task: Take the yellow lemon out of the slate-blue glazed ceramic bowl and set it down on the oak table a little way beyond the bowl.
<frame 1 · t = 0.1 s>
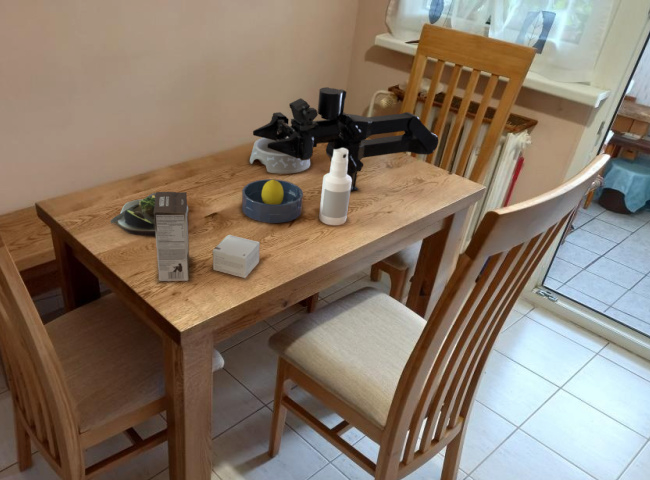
hand: (260, 139, 142), 17 cm above the table, tool horizontal, fingers open, 9 cm apart
spray bottle: (332, 220, 144), on the table
lemon: (271, 209, 147), resting on bowl
bowl: (271, 209, 147), on the table
small box: (236, 266, 125), on the table
salad plate: (152, 221, 141), on the table
dog bowl: (280, 162, 173), on the table
coffee box: (174, 270, 123), on the table
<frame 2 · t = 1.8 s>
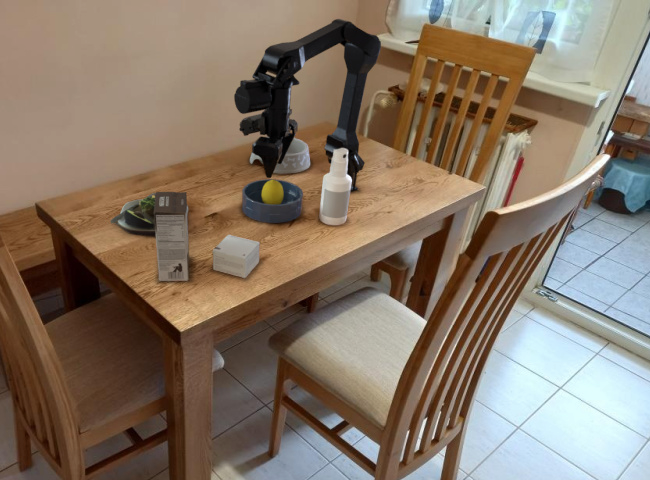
hand: (274, 170, 141), 11 cm above the table, tool pointing down, fingers open, 9 cm apart
nothing on the table moved.
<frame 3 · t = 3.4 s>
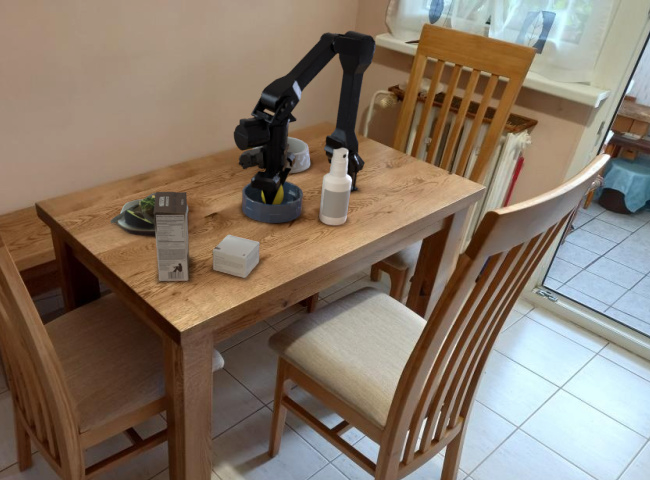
hand: (272, 201, 146), 2 cm above the table, tool pointing down, fingers closed on lemon, 5 cm apart
lemon: (271, 209, 147), resting on bowl, touching gripper
everything else where it was.
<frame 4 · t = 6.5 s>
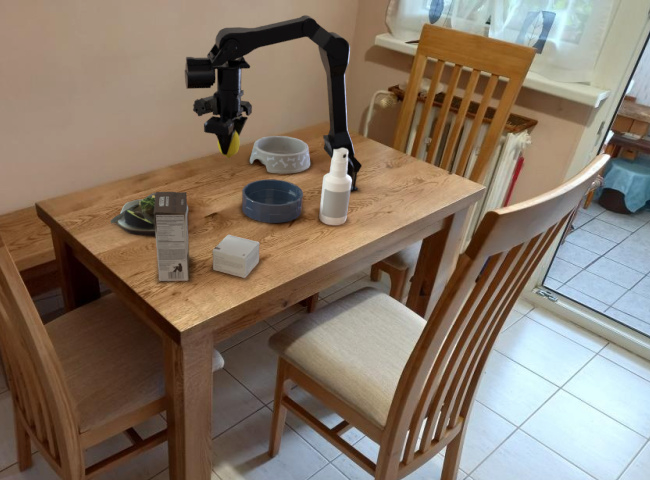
hand: (228, 150, 146), 12 cm above the table, tool pointing down, fingers closed on lemon, 5 cm apart
lemon: (228, 158, 148), point 10 cm above the table, touching gripper
everything else where it was.
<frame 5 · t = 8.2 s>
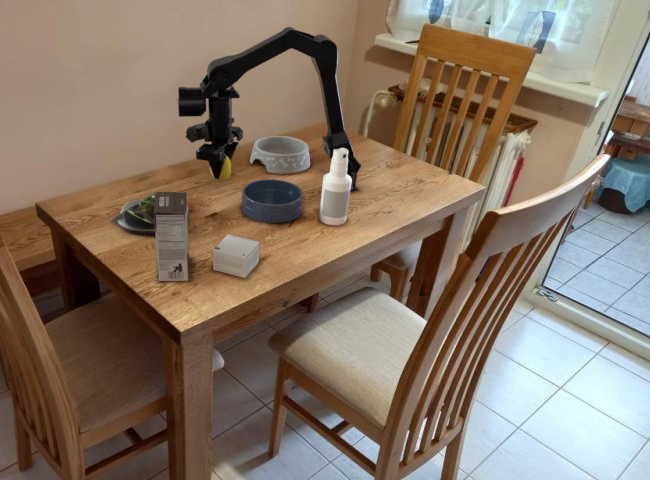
hand: (220, 174, 152), 5 cm above the table, tool pointing down, fingers closed on lemon, 5 cm apart
lemon: (220, 182, 153), point 3 cm above the table, touching gripper
everything else where it was.
when the fingers open (2 cm above the table, at t = 9.5 s): lemon stays where it is, on the table.
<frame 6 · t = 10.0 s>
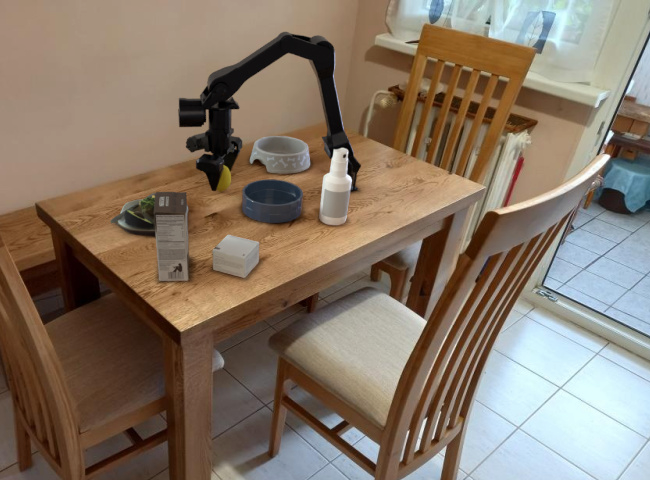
hand: (220, 183, 154), 2 cm above the table, tool pointing down, fingers open, 9 cm apart
lemon: (220, 192, 155), on the table
everything else where it was.
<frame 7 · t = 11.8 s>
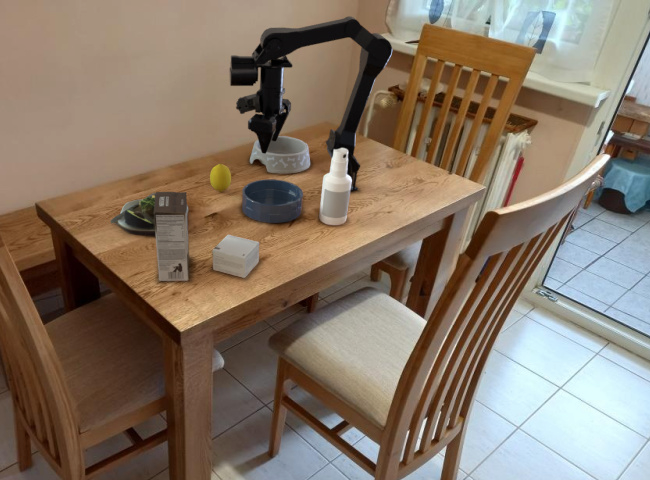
hand: (269, 146, 151), 12 cm above the table, tool pointing down, fingers open, 9 cm apart
nothing on the table moved.
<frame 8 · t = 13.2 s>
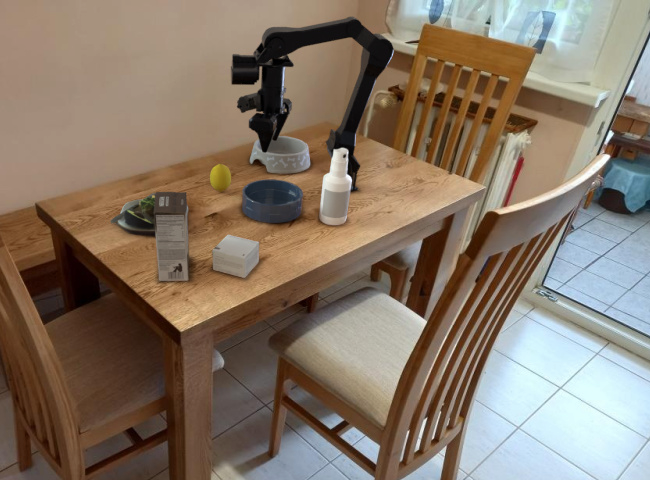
hand: (269, 146, 151), 12 cm above the table, tool pointing down, fingers open, 9 cm apart
nothing on the table moved.
at the end: lemon inside the target area (0.1 cm from its centre), on the table; lemon touching table; the gripper is holding nothing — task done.
